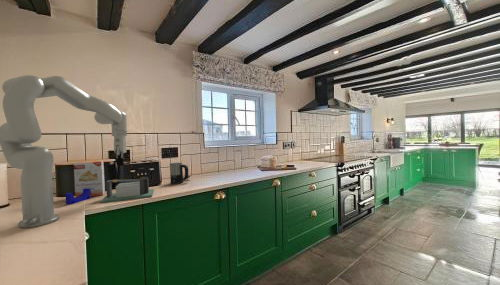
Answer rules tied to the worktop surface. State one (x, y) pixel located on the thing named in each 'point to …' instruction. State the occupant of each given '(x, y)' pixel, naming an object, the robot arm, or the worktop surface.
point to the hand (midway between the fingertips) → (120, 165)
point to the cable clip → (72, 200)
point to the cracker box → (89, 178)
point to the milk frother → (178, 173)
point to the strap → (126, 180)
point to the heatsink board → (113, 198)
